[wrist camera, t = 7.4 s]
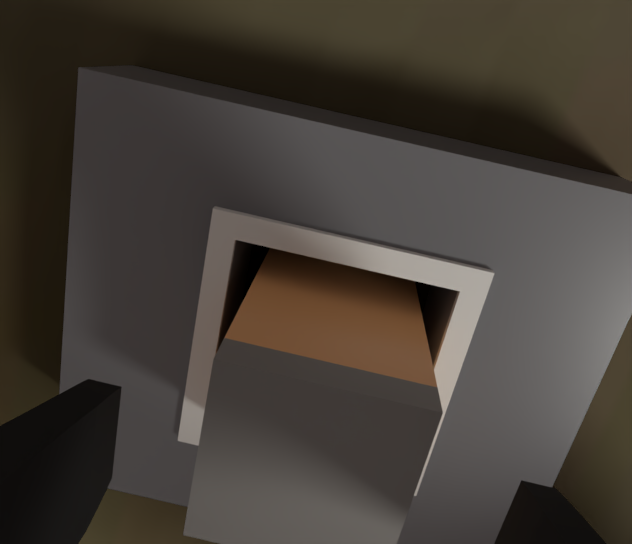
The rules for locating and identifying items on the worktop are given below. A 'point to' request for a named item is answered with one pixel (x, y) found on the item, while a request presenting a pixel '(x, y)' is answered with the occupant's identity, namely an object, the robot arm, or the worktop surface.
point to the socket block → (344, 248)
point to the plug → (315, 410)
